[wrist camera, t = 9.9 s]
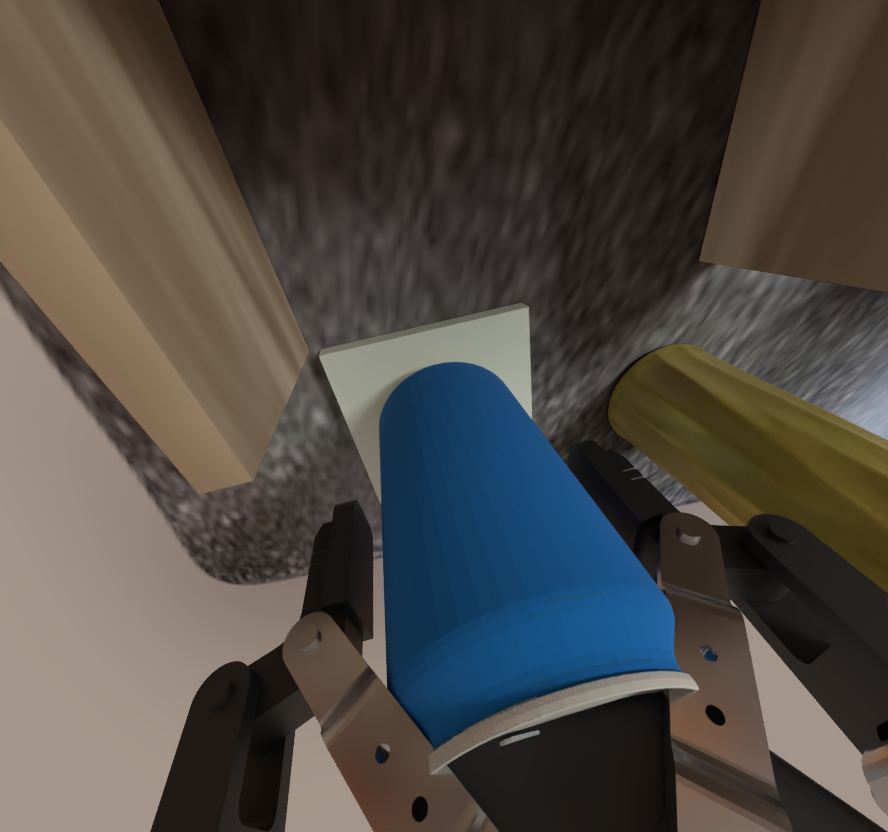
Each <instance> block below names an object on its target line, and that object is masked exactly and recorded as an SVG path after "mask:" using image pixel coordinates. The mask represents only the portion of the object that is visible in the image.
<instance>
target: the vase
mask: <svg viewBox="0 0 888 832" xmlns="http://www.w3.org/2000/svg"><path fill="white" fill-rule="evenodd" d="M608 418H609V422H610V424H611V426H612V428H613V430H614V431H615V432H616V433H617V434H618V435H619V436H621V437H623V438H625V439H626V440H628V441H629V442H630V443H631V444H633V445H634V446H635V447H636V448H637V449H639V450H640V451H641V452H642V453H644V454H645V455H646V456H647V457H648V458H650V459H651V460H652V461H653V462H654V463H656V464H657V465H658V466H659V467H660V468H662V469H663V470H664V471H665V472H667V473H668V474H669V475H670V476H672V477H673V478H674V479H675V480H677V481H678V482H679V483H681V484H682V485H683V486H685V487H686V488H687V489H688V490H689V491H690V492H692V493H693V494H694V495H695V496H696V497H697V498H698V499H699V500H701V501H702V502H703V503H704V504H705V505H706V506H707V507H709V508H710V509H711V510H712V511H713V512H715V513H716V514H717V515H718V516H719V517H720V518H721V519H722V520H724V521H725V522H726V523H727V524H728V525H729V526H747V524H748V522H749V520H750V519H751V518H752V517H753V516H755V515H759V514H773V515H778V516H782V517H785V518H788V519H790V520H792V521H795V522H797V523H798V524H800V525H802V526H803V527H805V528H806V529H807V530H809V531H810V532H811V533H812V534H814V535H815V536H816V537H817V538H819V539H820V540H821V541H822V542H824V543H825V544H826V545H827V546H829V547H830V548H831V549H832V550H834V551H835V552H836V553H838V554H839V555H840V556H841V557H843V558H844V559H845V560H846V561H848V562H849V563H850V564H851V565H853V566H854V567H855V568H856V569H858V570H859V571H860V572H861V573H863V574H864V575H865V576H866V577H868V578H869V579H870V580H871V581H873V582H874V583H875V584H877V585H878V586H879V587H880V588H882V589H883V590H884V591H885V592H887V593H888V440H886V439H884V438H882V437H880V436H877V435H875V434H873V433H871V432H869V431H867V430H865V429H863V428H861V427H859V426H857V425H855V424H853V423H851V422H849V421H847V420H845V419H843V418H841V417H839V416H836V415H834V414H832V413H830V412H828V411H826V410H824V409H822V408H820V407H818V406H816V405H813V404H811V403H809V402H807V401H805V400H803V399H801V398H799V397H796V396H794V395H792V394H790V393H788V392H786V391H784V390H781V389H779V388H777V387H775V386H773V385H771V384H769V383H767V382H765V381H763V380H761V379H759V378H757V377H755V376H753V375H751V374H749V373H747V372H745V371H743V370H741V369H739V368H737V367H735V366H733V365H731V364H729V363H727V362H725V361H723V360H721V359H719V358H717V357H715V356H713V355H711V354H709V353H708V352H706V351H705V350H704V349H702V348H700V347H698V346H695V345H690V344H672V345H669V346H665V347H662V348H659V349H657V350H655V351H653V352H651V353H649V354H647V355H646V356H644V357H643V358H641V359H640V360H639V361H637V362H636V363H635V364H634V365H633V366H632V367H631V368H630V369H629V370H628V371H627V372H626V373H625V374H624V375H623V376H622V378H621V379H620V381H619V382H618V384H617V385H616V387H615V389H614V391H613V393H612V395H611V398H610V401H609V406H608Z"/></svg>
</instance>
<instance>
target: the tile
mask: <svg viewBox="0 0 888 832" xmlns="http://www.w3.org/2000/svg"><path fill="white" fill-rule="evenodd" d="M319 358H320V360H321V363H322V365H323V368H324V370H325V372H326V375H327V377H328V380H329V382H330V384H331V387H332V389H333V392H334V394H335V396H336V399H337V401H338V404H339V406H340V408H341V411H342V413H343V416H344V418H345V420H346V423H347V425H348V428H349V430H350V432H351V435H352V437H353V440H354V442H355V444H356V447H357V449H358V451H359V454H360V456H361V459H362V461H363V463H364V466H365V468H366V471H367V473H368V475H369V478H370V480H371V483H372V485H373V487H374V490H375V492H376V495H377V497H378V499H379V502H380V503H381V478H380V447H379V420H380V415H381V412H382V409H383V406H384V404H385V402H386V400H387V398H388V397H389V395H390V394H391V393H392V391H393V390H394V389H395V388H396V387H397V386H398V385H399V384H400V383H401V382H402V381H403V380H404V379H406V378H407V377H408V376H410V375H412V374H413V373H415V372H416V371H419V370H421V369H423V368H425V367H428V366H431V365H434V364H439V363H444V362H466V363H471V364H475V365H478V366H481V367H483V368H486V369H488V370H490V371H491V372H493V373H494V374H496V375H497V376H498V377H499V378H500V379H501V380H502V381H503V382H504V383H505V385H506V386H507V387H508V389H509V390H510V391H511V392H512V394H513V395H514V396H515V398H516V399H517V400H518V402H519V403H520V404H521V406H522V407H523V408H524V410H525V411H526V412H527V414H528V415H529V416H530V418H531V419H532V397H531V362H530V328H529V307H528V306H527V305H525V304H523V303H518V304H513V305H509V306H505V307H500V308H496V309H492V310H487V311H483V312H479V313H475V314H470V315H466V316H462V317H457V318H453V319H449V320H445V321H440V322H436V323H432V324H427V325H423V326H419V327H414V328H410V329H406V330H402V331H397V332H393V333H389V334H384V335H380V336H376V337H372V338H367V339H363V340H359V341H354V342H350V343H346V344H342V345H337V346H333V347H329V348H324V349H321V351H320V354H319Z"/></svg>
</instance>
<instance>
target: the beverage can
mask: <svg viewBox="0 0 888 832" xmlns="http://www.w3.org/2000/svg"><path fill="white" fill-rule="evenodd" d="M379 447H380V478H381V509H382V540H383V569H384V570H383V571H384V602H385V633H386V664H387V689H388V690H389V692H390V693H391V694H392V695H393V697H394V698H395V699H396V701H397V702H398V703H399V704H400V706H401V707H402V708H403V710H404V711H405V712H406V713H407V715H408V716H409V717H410V718H411V720H412V721H413V722H414V724H415V725H416V726H417V727H418V729H419V730H420V731H421V733H422V734H423V735H424V736H425V738H426V739H427V740H428V741H429V743H430V744H431V745H432V747H433V748H434V752H433V753H432V754H430V755H429V756H428V759H429V768H430V774H431V775H432V774H434V773H436V772H437V771H439V770H440V769H441V768H443V767H444V766H445V765H447V764H448V763H450V762H451V761H453V760H455V759H456V758H458V757H459V756H461V755H463V754H465V753H466V752H468V751H470V750H472V749H474V748H476V747H477V746H479V745H481V744H483V743H485V742H488V741H490V740H492V739H494V738H496V737H500V736H503V735H506V734H509V733H512V732H515V731H519V730H522V729H525V728H528V727H531V726H535V725H538V724H541V723H544V722H547V721H551V720H554V719H557V718H560V717H563V716H566V715H570V714H573V713H576V712H579V711H582V710H586V709H589V708H592V707H595V706H598V705H602V704H605V703H608V702H611V701H614V700H618V699H621V698H625V697H630V696H634V695H640V694H646V693H654V692H659V691H663V689H666V688H685V689H692V690H695V691H696V690H699V688H698V686H697V684H696V682H695V681H694V679H693V678H692V677H691V676H690V675H689V674H687V673H682V671H681V669H680V667H679V665H678V664H677V661H676V658H675V655H674V629H675V618H674V613H673V610H672V607H671V604H670V602H669V600H668V599H667V597H666V596H665V595H664V593H663V592H662V591H661V589H660V588H659V587H658V585H657V584H656V583H655V581H654V580H653V579H652V577H651V576H650V575H649V573H648V572H647V571H646V569H645V568H644V567H643V565H642V564H641V563H640V562H639V560H638V559H637V558H636V556H635V555H634V554H633V552H632V551H631V550H630V548H629V547H628V546H627V544H626V543H625V542H624V540H623V539H622V538H621V536H620V535H619V534H618V532H617V531H616V530H615V529H614V527H613V526H612V525H611V523H610V522H609V521H608V519H607V518H606V517H605V515H604V514H603V513H602V511H601V510H600V509H599V507H598V506H597V505H596V503H595V502H594V501H593V499H592V498H591V497H590V495H589V494H588V493H587V492H586V490H585V489H584V488H583V486H582V485H581V484H580V482H579V481H578V480H577V478H576V477H575V476H574V474H573V473H572V472H571V470H570V469H569V468H568V466H567V465H566V464H565V462H564V461H563V460H562V459H561V457H560V456H559V455H558V453H557V452H556V451H555V449H554V448H553V447H552V445H551V444H550V443H549V441H548V440H547V439H546V437H545V436H544V435H543V433H542V432H541V431H540V429H539V428H538V427H537V425H536V424H535V423H534V422H533V420H532V419H531V418H530V416H529V415H528V414H527V412H526V411H525V410H524V408H523V407H522V406H521V404H520V403H519V402H518V400H517V399H516V398H515V396H514V395H513V394H512V392H511V391H510V390H509V389H508V387H507V386H506V385H505V383H504V382H503V381H502V380H501V379H500V378H499V377H498V376H497V375H496V374H494V373H493V372H491V371H490V370H488V369H486V368H483V367H481V366H478V365H475V364H471V363H466V362H444V363H439V364H434V365H431V366H428V367H425V368H423V369H421V370H419V371H416V372H415V373H413V374H412V375H410V376H408V377H407V378H406V379H404V380H403V381H402V382H401V383H400V384H399V385H398V386H397V387H396V388H395V389H394V390H393V391H392V393H391V394H390V395H389V397H388V398H387V400H386V402H385V404H384V406H383V409H382V412H381V415H380V420H379ZM538 734H540V732H539V730H537V731H532V732H528V733H524V734H520V735H516V736H513V737H510V738H508V739H505V740H503V741H501V742H500V746H503V745H506V744H509V743H513V742H516V741H519V740H522V739H525V738H528V737H532V736H535V735H538Z"/></svg>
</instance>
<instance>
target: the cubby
mask: <svg viewBox="0 0 888 832" xmlns="http://www.w3.org/2000/svg"><path fill="white" fill-rule="evenodd" d="M699 261H700V262H706V263H712V264H719V265H725V266H731V267H737V268H743V269H749V270H755V271H761V272H767V273H774V274H780V275H786V276H792V277H798V278H804V279H810V280H816V281H822V282H828V283H835V284H841V285H847V286H853V287H859V288H865V289H871V290H877V291H883V292H888V0H761V4H760V8H759V12H758V16H757V20H756V24H755V29H754V33H753V37H752V41H751V45H750V50H749V54H748V58H747V62H746V66H745V70H744V75H743V79H742V83H741V87H740V91H739V95H738V100H737V104H736V108H735V112H734V116H733V121H732V125H731V129H730V133H729V137H728V141H727V146H726V150H725V154H724V158H723V162H722V167H721V171H720V175H719V179H718V183H717V187H716V192H715V196H714V200H713V204H712V208H711V213H710V217H709V221H708V225H707V229H706V233H705V238H704V242H703V246H702V250H701V254H700V258H699ZM0 262H1V263H2V264H3V265H4V267H5V268H6V269H7V270H8V271H9V272H10V274H11V275H12V276H13V277H14V278H15V279H16V281H17V282H18V283H19V284H20V285H21V286H22V288H23V289H24V290H25V291H26V292H27V293H28V295H29V296H30V297H31V298H32V299H33V300H34V302H35V303H36V304H37V305H38V306H39V308H40V309H41V310H42V311H43V312H44V313H45V315H46V316H47V317H48V318H49V319H50V320H51V322H52V323H53V324H54V325H55V326H56V327H57V329H58V330H59V331H60V332H61V333H62V334H63V336H64V337H65V338H66V339H67V340H68V341H69V343H70V344H71V345H72V346H73V347H74V348H75V350H76V351H77V352H78V353H79V354H80V356H81V357H82V358H83V359H84V360H85V361H86V363H87V364H88V365H89V366H90V367H91V368H92V370H93V371H94V372H95V373H96V374H97V375H98V377H99V378H100V379H101V380H102V381H103V382H104V384H105V385H106V386H107V387H108V388H109V389H110V391H111V392H112V393H113V394H114V395H115V396H116V398H117V399H118V400H119V401H120V402H121V404H122V405H123V406H124V407H125V408H126V409H127V411H128V412H129V413H130V414H131V415H132V416H133V418H134V419H135V420H136V421H137V422H138V423H139V425H140V426H141V427H142V428H143V429H144V430H145V432H146V433H147V434H148V435H149V436H150V437H151V439H152V440H153V441H154V442H155V443H156V444H157V446H158V447H159V448H160V449H161V450H162V452H163V453H164V454H165V455H166V456H167V457H168V459H169V460H170V461H171V462H172V463H173V464H174V466H175V467H176V468H177V469H178V470H179V471H180V473H181V474H182V475H183V476H184V477H185V478H186V480H187V481H188V482H189V483H190V484H191V485H192V487H193V488H194V489H195V490H196V491H197V492H198V494H199V495H200V494H204V493H208V492H212V491H216V490H220V489H223V488H227V487H231V486H235V485H239V484H243V483H247V482H251V481H253V480H254V478H255V475H256V473H257V471H258V469H259V466H260V464H261V462H262V460H263V457H264V455H265V453H266V450H267V448H268V446H269V444H270V441H271V439H272V437H273V434H274V432H275V430H276V428H277V425H278V423H279V421H280V418H281V416H282V414H283V412H284V409H285V407H286V405H287V403H288V400H289V398H290V396H291V393H292V391H293V389H294V387H295V384H296V382H297V380H298V377H299V375H300V373H301V371H302V368H303V366H304V364H305V362H306V359H307V357H308V355H309V352H310V351H309V349H308V347H307V344H306V342H305V340H304V337H303V335H302V333H301V331H300V328H299V326H298V324H297V321H296V319H295V317H294V314H293V312H292V310H291V307H290V305H289V303H288V300H287V298H286V296H285V293H284V291H283V289H282V286H281V284H280V282H279V279H278V277H277V275H276V272H275V270H274V268H273V265H272V263H271V261H270V259H269V256H268V254H267V252H266V249H265V247H264V245H263V242H262V240H261V238H260V235H259V233H258V231H257V228H256V226H255V224H254V221H253V219H252V217H251V214H250V212H249V210H248V207H247V205H246V203H245V200H244V198H243V196H242V193H241V191H240V189H239V187H238V184H237V182H236V180H235V177H234V175H233V173H232V170H231V168H230V166H229V163H228V161H227V159H226V156H225V154H224V152H223V149H222V147H221V145H220V142H219V140H218V138H217V135H216V133H215V131H214V128H213V126H212V124H211V122H210V119H209V117H208V115H207V112H206V110H205V108H204V105H203V103H202V101H201V98H200V96H199V94H198V91H197V89H196V87H195V84H194V82H193V80H192V77H191V75H190V73H189V70H188V68H187V66H186V63H185V61H184V59H183V56H182V54H181V52H180V50H179V47H178V45H177V43H176V40H175V38H174V36H173V33H172V31H171V29H170V26H169V24H168V22H167V19H166V17H165V15H164V12H163V10H162V8H161V5H160V3H159V1H158V0H0Z"/></svg>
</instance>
